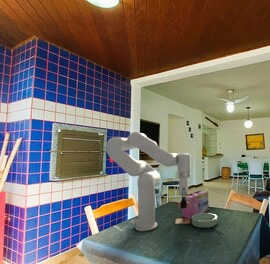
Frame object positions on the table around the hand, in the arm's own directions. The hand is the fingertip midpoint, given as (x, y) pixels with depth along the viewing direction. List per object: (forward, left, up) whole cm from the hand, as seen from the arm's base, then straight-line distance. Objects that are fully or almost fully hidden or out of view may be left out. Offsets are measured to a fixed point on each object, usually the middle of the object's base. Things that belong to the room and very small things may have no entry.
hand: (183, 206), depth 114 cm
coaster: (-1, +11, -12) cm, 17 cm away
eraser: (0, 0, 0) cm, 0 cm away
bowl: (+12, +6, -12) cm, 18 cm away
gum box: (+8, +27, -12) cm, 31 cm away
